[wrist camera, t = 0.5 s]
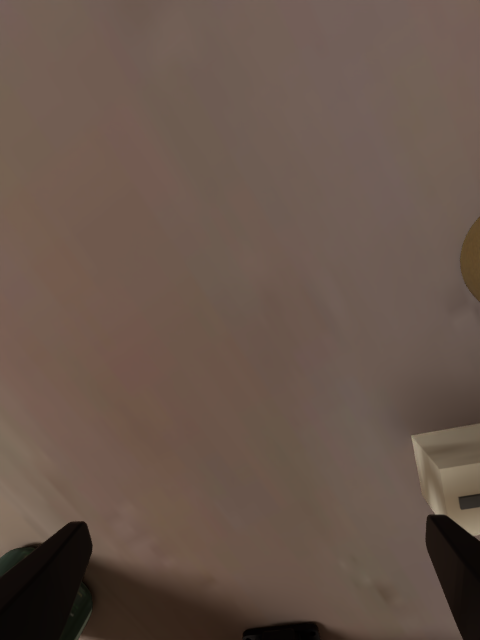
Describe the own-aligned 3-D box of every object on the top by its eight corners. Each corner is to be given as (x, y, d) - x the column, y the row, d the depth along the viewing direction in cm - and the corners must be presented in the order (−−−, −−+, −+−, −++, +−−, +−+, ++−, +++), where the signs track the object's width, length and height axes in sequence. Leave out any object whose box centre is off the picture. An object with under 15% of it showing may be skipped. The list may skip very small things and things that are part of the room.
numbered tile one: (491, 482, 23) (538, 528, 19) (421, 493, 24) (453, 540, 20) (482, 421, 23) (529, 456, 19) (410, 434, 23) (440, 470, 19)
